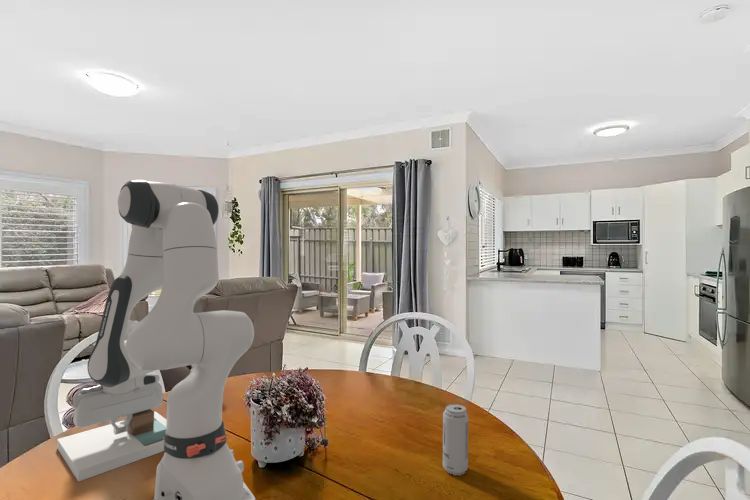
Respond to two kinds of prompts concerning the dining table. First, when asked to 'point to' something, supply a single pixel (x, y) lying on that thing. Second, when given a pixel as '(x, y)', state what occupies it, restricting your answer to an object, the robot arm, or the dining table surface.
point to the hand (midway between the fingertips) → (120, 432)
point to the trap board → (109, 448)
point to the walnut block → (141, 422)
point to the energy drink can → (455, 439)
